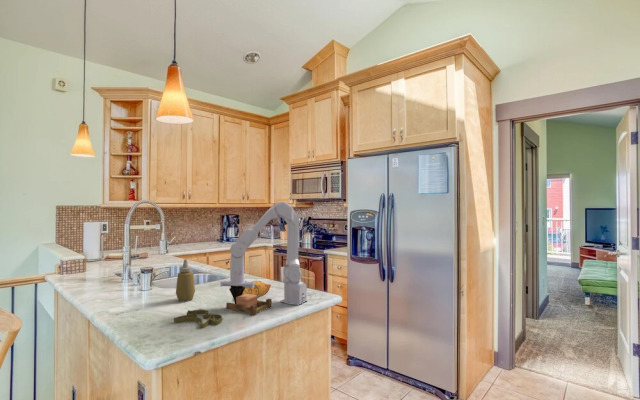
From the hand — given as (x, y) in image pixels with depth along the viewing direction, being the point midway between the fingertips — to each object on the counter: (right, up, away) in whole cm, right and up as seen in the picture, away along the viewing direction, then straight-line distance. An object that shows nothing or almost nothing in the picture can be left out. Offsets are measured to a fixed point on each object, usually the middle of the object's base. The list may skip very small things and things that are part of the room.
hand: (237, 304), depth 140 cm
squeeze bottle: (-25, -1, +9) cm, 27 cm away
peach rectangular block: (+5, -1, -3) cm, 5 cm away
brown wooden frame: (+5, -1, -3) cm, 5 cm away
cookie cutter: (-10, -2, -16) cm, 19 cm away
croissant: (+3, -2, +17) cm, 18 cm away
